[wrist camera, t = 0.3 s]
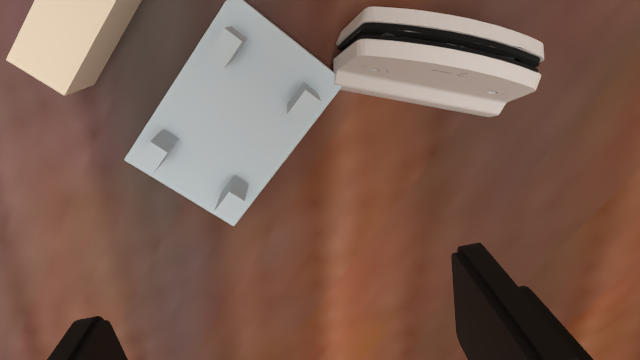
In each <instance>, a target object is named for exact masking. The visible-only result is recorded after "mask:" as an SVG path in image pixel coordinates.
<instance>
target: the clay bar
mask: <svg viewBox="0 0 640 360" xmlns="http://www.w3.org/2000/svg"><path fill="white" fill-rule="evenodd" d="M141 1H142V0H35V1H34V3H33V5H32V7H31V9H30V11H29V13H28V15H27V17H26V20H25V22H24V24H23V26H22V28H21V30H20V32H19V34H18V36H17V38H16V40H15V42H14V44H13V46H12V49H11V51H10V53H9V55H8V57H7V59H6V60H7V61H9V62H10V63H12V64H14V65H15V66H17V67H18V68H20V69H22V70H23V71H25V72H27V73H28V74H30V75H31V76H33V77H35V78H36V79H38V80H40V81H41V82H43V83H45V84H46V85H48V86H49V87H51V88H53V89H54V90H56V91H58V92H59V93H61V94H62V95H64V96H65V95H68V94H70V93H73V92H76V91H79V90H82V89H84V88H87V87H90V86H93V85H95V83H96V81H97V79H98V77H99V76H100V74H101V72H102V70H103V68H104V67H105V65H106V63H107V61H108V60H109V58H110V56H111V54H112V52H113V51H114V49H115V47H116V45H117V44H118V42H119V40H120V38H121V36H122V35H123V33H124V31H125V29H126V27H127V26H128V24H129V22H130V20H131V19H132V17H133V15H134V13H135V11H136V10H137V8H138V6H139V4H140V3H141Z"/></svg>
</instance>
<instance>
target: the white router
mask: <svg viewBox="0 0 640 360" xmlns="http://www.w3.org/2000/svg"><path fill="white" fill-rule="evenodd" d="M336 45H339V49H340V50H343V51H341V52H340V53H339V54H338V56H337V57H336V58H334V59H333V72H334V73H335V81H334V85H338V86H342V87H341V89H340V90H344V91H350V92H355V93H360V94H366V95H371V96H377V97H382V98H387V99H393V100H398V101H404V102H409V103H414V104H420V105H425V106H431V107H436V108H441V109H447V110H452V111H458V112H463V113H468V114H474V115H479V116H485V117H492V116H497V115H499V114H500V112H501V110H502V109H503V107H504V106H505V104H506V103H507V102H509V101H512V100H514V99H517V98H519V97H522V96H524V95H527V94H529V93H532V92H535V91H536V89H537V86H538V83H539V81H540V78H541V75H540V74H539V73H538V69H537V68H535V67H537V66H539V64H540V62H542V61H543V60H544V49H543V43H542V42H540V41H538V40H536V39H534V38H531V37H529V36H526V35H524V34H521V33H519V32H516V31H513V30H509V29H506V28H503V27H500V26H497V25H493V24H489V23H485V22H481V21H477V20H473V19H469V18H464V17H459V16H454V15H448V14H442V13H435V12H429V11H422V10H413V9H403V8H391V7H367V8H365V9H364V10H363V11H362V12H361V13H360V14H359V15H358V16H357V17H356V18H355V19H353V20H352V21H351V22H350V23H349V24H348V25H347V26H346V27H345V28H344V29H343V30H342V31H341V33H340V35H339V37H338V40H337V42H336Z"/></svg>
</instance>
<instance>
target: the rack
mask: <svg viewBox="0 0 640 360" xmlns="http://www.w3.org/2000/svg"><path fill="white" fill-rule="evenodd" d="M334 81H335V73H334V72H333V71H332V70H331V69H330V68H328V67H327V66H326V65H324V64H323V63H322V62H321V61H319V60H318V59H317V58H316V57H314V56H313V55H312V54H311V53H309V52H308V51H307V50H306V49H304V48H303V47H302V46H301V45H299V44H298V43H297V42H296V41H294V40H293V39H292V38H291V37H289V36H288V35H287V34H286V33H284V32H283V31H282V30H281V29H279V28H278V27H277V26H276V25H274V24H273V23H272V22H271V21H269V20H268V19H267V18H266V17H264V16H263V15H262V14H261V13H259V12H258V11H257V10H256V9H254V8H253V7H252V6H251V5H249V4H248V3H247V2H246V1H244V0H226V2H225V3H224V5H223V6H222V8H221V9H220V11H219V13H218V14H217V16H216V17H215V19H214V20H213V22H212V23H211V25H210V27H209V28H208V30H207V31H206V33H205V34H204V36H203V37H202V39H201V41H200V42H199V44H198V45H197V47H196V48H195V50H194V52H193V53H192V55H191V56H190V58H189V59H188V61H187V62H186V64H185V66H184V67H183V69H182V70H181V72H180V73H179V75H178V76H177V78H176V80H175V81H174V83H173V84H172V86H171V87H170V89H169V90H168V92H167V94H166V95H165V97H164V98H163V100H162V101H161V103H160V105H159V106H158V108H157V109H156V111H155V112H154V114H153V115H152V117H151V119H150V120H149V122H148V123H147V125H146V126H145V128H144V129H143V131H142V133H141V134H140V136H139V137H138V139H137V140H136V142H135V143H134V145H133V147H132V148H131V150H130V151H129V153H128V154H127V156H126V158H125V159H124V160H125V161H127V162H128V163H130V164H132V165H133V166H135V167H137V168H138V169H140V170H141V171H143V172H145V173H146V174H148V175H150V176H151V177H153V178H155V179H156V180H158V181H160V182H161V183H163V184H165V185H166V186H168V187H169V188H171V189H173V190H174V191H176V192H178V193H179V194H181V195H183V196H184V197H186V198H188V199H189V200H191V201H193V202H194V203H196V204H198V205H199V206H201V207H202V208H204V209H206V210H207V211H209V212H211V213H212V214H214V215H216V216H217V217H219V218H221V219H222V220H224V221H226V222H227V223H229V224H231V225H232V226H234V225H235V224H236V223H237V222H238V220H239V219H240V218H241V216H242V215H243V214H244V213H245V211H246V210H247V209H248V207H249V206H250V205H251V204H252V202H253V201H254V200H255V198H256V197H257V196H258V194H259V193H260V192H261V191H262V189H263V188H264V187H265V185H266V184H267V183H268V182H269V180H270V179H271V178H272V176H273V175H274V174H275V173H276V171H277V170H278V169H279V167H280V166H281V165H282V164H283V162H284V161H285V160H286V158H287V157H288V156H289V154H290V153H291V152H292V151H293V149H294V148H295V147H296V145H297V144H298V143H299V142H300V140H301V139H302V138H303V136H304V135H305V134H306V133H307V131H308V130H309V129H310V127H311V126H312V125H313V124H314V122H315V121H316V120H317V118H318V117H319V116H320V114H321V113H322V112H323V111H324V109H325V108H326V107H327V105H328V104H329V103H330V102H331V100H332V99H333V98H334V96H335V95H336V94H337V93H338V91H339V90H340V89H341V87H342V86H338V85H334Z"/></svg>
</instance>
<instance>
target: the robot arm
mask: <svg viewBox="0 0 640 360" xmlns="http://www.w3.org/2000/svg"><path fill="white" fill-rule="evenodd" d="M452 273H453V289H454V304H455V320H456V333H457V337H458V340H459V343H460V345H461V347H462V349H463V351H464V353H465V355H466V357H467V358H468V360H593V359H592V358H591V356H590V355H589V354H588V353H587V352H586V351H585V350H584V349H583V347H582V346H581V345H580V344H579V343H578V342H577V341H576V340H575V338H574V337H573V336H572V335H571V334H570V333H569V332H568V331H567V329H566V328H565V327H564V326H563V325H562V324H561V323H560V322H559V320H558V319H557V318H556V317H555V316H554V315H553V314H552V313H551V312H550V310H549V309H548V308H547V307H546V306H545V305H544V304H543V303H542V301H541V300H540V299H539V298H538V297H537V296H536V295H535V294H534V292H533V291H532V290H531V289H529V288H528V287H526V286H520V287H518V286H517V285H516V284H515V282H514V281H513V280H512V279H511V278H510V277H509V275H508V274H507V273H506V272H505V271H504V269H503V268H502V267H501V266H500V265H499V264H498V262H497V261H496V260H495V259H494V258H493V257H492V255H491V254H490V253H489V252H488V251H487V250H486V248H485V247H484V246H483V245H482V244H481V243H475V244H470V245H464V246H459V247H458V250H457V253H453V254H452ZM47 360H128V359H127V357H126V355H125V353H124V351H123V349H122V347H121V345H120V342H119V340H118V338H117V336H116V334H115V332H114V330H113V328H112V325H111V324H110V322H109V321H107V320H104V319H103V318H102V317H100V316H96V317H91V318H86V319H80V320H77V321H75V322H74V323H73V324H72V325H71V327H70V328H69V329H68V331H67V332H66V334H65V335H64V336H63V338H62V339H61V341H60V342H59V344H58V345H57V346H56V348H55V349H54V351H53V352H52V354H51V355H50V356H49V358H48V359H47Z"/></svg>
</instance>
